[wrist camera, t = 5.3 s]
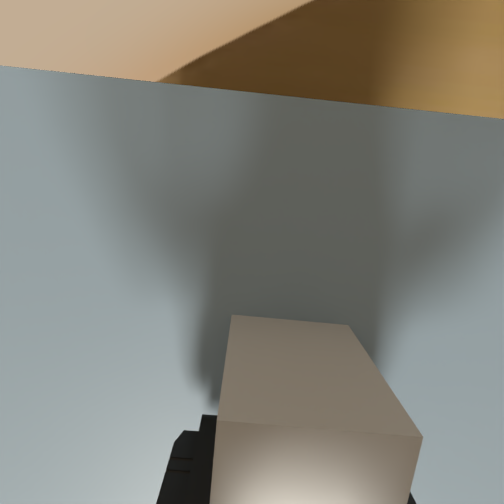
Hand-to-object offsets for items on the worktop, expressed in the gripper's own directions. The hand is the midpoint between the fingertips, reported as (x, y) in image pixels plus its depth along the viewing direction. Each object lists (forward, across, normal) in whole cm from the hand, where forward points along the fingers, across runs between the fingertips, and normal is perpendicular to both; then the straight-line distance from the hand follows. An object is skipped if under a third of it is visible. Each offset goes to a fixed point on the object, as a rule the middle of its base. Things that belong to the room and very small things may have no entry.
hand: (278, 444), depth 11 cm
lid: (+3, 0, 0) cm, 3 cm away
